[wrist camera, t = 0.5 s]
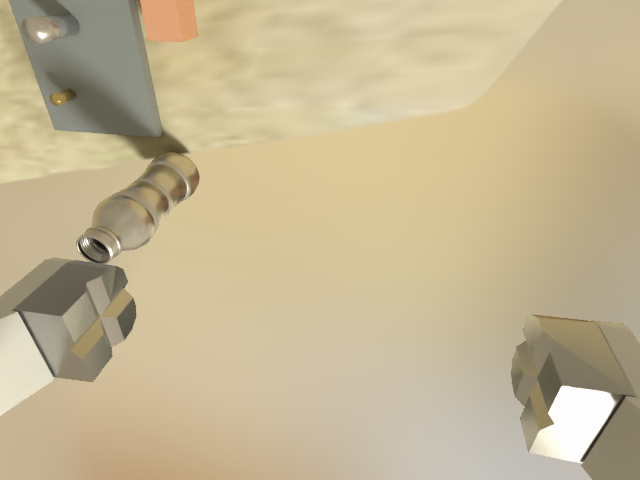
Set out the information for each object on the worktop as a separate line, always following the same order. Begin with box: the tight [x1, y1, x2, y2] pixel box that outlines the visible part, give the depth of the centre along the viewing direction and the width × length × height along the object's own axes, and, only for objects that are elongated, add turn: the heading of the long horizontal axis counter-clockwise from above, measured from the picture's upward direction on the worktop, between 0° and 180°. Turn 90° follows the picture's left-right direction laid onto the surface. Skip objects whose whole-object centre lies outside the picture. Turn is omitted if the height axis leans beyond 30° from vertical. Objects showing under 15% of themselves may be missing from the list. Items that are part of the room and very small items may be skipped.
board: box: [9, 0, 163, 137], centre depth 50 cm, size 22×15×2 cm
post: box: [21, 13, 80, 106], centre depth 49 cm, size 10×2×6 cm, turn 158°
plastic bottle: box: [76, 152, 199, 264], centre depth 50 cm, size 6×7×20 cm
